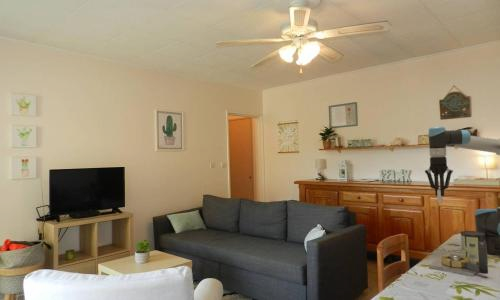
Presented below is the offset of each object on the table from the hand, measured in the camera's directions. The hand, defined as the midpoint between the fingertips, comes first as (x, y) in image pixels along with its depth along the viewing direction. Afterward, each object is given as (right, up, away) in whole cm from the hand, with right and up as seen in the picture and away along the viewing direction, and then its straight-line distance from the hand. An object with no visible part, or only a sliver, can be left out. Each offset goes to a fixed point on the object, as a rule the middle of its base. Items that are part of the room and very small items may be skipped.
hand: (440, 202), depth 174 cm
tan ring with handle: (+2, -27, -17) cm, 32 cm away
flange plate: (+1, -29, -13) cm, 32 cm away
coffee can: (+14, -29, -4) cm, 33 cm away
